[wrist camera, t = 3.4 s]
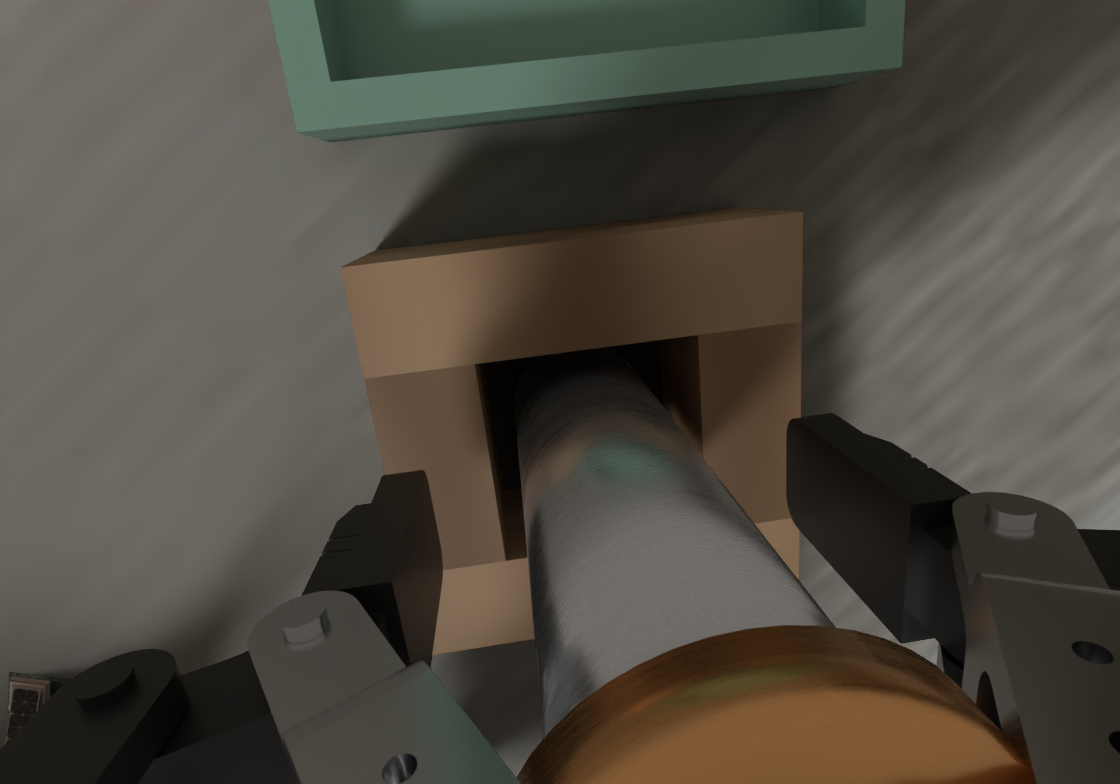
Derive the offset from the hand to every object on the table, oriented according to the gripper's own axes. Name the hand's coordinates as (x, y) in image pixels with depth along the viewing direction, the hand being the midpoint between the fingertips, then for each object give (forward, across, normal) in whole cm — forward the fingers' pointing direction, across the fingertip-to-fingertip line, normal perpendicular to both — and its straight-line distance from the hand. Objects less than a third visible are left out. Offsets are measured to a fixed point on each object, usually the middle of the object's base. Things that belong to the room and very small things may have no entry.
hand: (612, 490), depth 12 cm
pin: (+5, 0, 0) cm, 5 cm away
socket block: (+5, 0, 0) cm, 5 cm away
